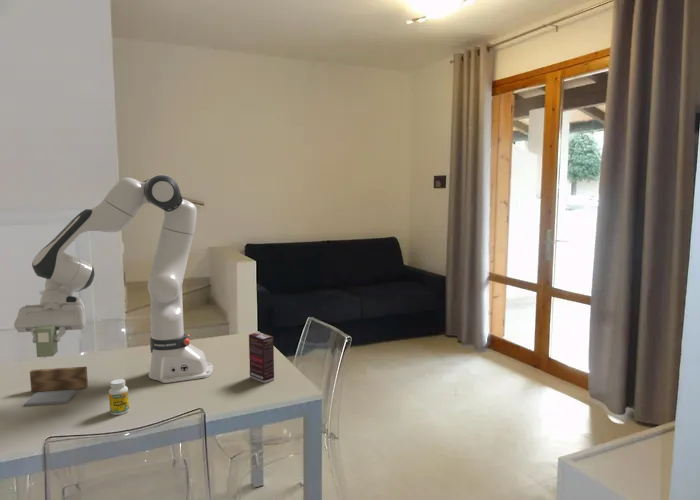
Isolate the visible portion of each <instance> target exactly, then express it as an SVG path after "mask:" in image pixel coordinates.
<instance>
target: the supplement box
mask: <svg viewBox="0 0 700 500" xmlns="http://www.w3.org/2000/svg"><path fill="white" fill-rule="evenodd" d="M248 351H249V353H248V355H249V356H248V357H249V378H251V379H253V380H256V381H257V382H261V383H263V384H266V383H270V382H273V381H275V364H274V363H275V358H274V357H275V356H274V354H275V353H274V351H275V349H274V336H272V335H269V334H266V333H263V332H260V331H258V332H254V333H250V334H248Z"/></svg>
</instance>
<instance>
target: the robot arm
mask: <svg viewBox="0 0 700 500" xmlns="http://www.w3.org/2000/svg"><path fill="white" fill-rule="evenodd" d="M181 193H182V192H181V190H180V187H179V185H178V183H177V182H176V180H175V179H174V178H172V177H171V176H170V175H167V174H161V173H159V174H156V175H153V176H151V177H150V178H148V179H146V180H144V181H139V180H138V179H136V178H133V177H122V178H121V179H120V180H119V181H117V182H116V183H115V185H114V186H113V187H112V188H111V189H110V190H109V192H108V193H107V194H106V196H104V198H103V200H102V201H101V202H100V203H98V205H96V206H95V207H93V208H89V209H88V208H87V209H84V210H82V211H81V212H80V213H78V214H77V215H76V216H75V217H73V219H72V220H70V222H69V223H68V224H66V226H65V227H64V228H63V229H62V230H61V231H60V232H59V233H58V234H57V235H56V236H55V237H54V238H53V239H52V240H51V241H50V242H49V243H48V244H47V245H46V246H44V247H43V248H42V249H40V251H39V252H38V253H37V254H35V256H34V257H33V260H32V262H31V267H32V270H33V271H34V274H35V275H36V276H37V277H39V278H43V279H46V280H45V281H44V282H45V283H44V287H45V288H44V290H43V292H42V293H41V294H42V295H41V297H40V301H39V303H38V304H26V305H24V306H21V307H20V308H19V309H18V313H17V316H16V318H15V321H14V323H13V326H14V329H15V330H16V331H17V332H18V333H31V335H32V343H33V344H36V337H35V329H36V328H38V327H39V326H49V325H55V326H56V331H58V332H57V335H54V338H53V341H54V342H57V343H59V342H61V338H62V337H63V336H64V335H65V334H66V331H75V330H76V331H77V330H78V331H79V330H83V329H84V328H85V326H86V319H87V314H86V312H85V310H86V307H85V304H84V302H83V299H81V298H80V297H78V296H74V295H73V293H78V292H81V291H82V290H85V289H88V288H89V287H90V286H91V285H92V283H93V281H94V278H95V267H94V266H93V265H92V264H90V263H89V262H88V261H85V260H83V259H81V258H77V257H76V256H73V255H71V254H69V253H66V252H65V251H66V250H67V248H69V246H70V245H71V244H72V243H73V242H74V241H75V240H77V238H78V237H79V236H81V235H82V234H84V233H87V232H103V233H116V232H117V233H118V232H120V231H123V230H125V229H126V228H128V227H129V226H130V224H131V223H132V221H133V219H135V217H136V215H137V214H138V212H139V210H140V209H142V207H143V206H144V205H146V204H152V205H154V206H155V207H158V208H160V209H161V210H162V211H163V214H164V216H163V220H162V225H161V229H160V233H159V238H158V242H157V246H156V251H155V254H154V256H153V257H154V258H153V262H152V266H151V270H150V274H149V278H148V282H147V291H148V293H149V295H150V296H149V297H150V315H149V317H150V331H151V333H150V334H151V335H150V339H149V347H150V353H151V359H150V368H149V372H148V378H149V379H151V380H154V381H157V382H158V381H159V382H161V383H163V384H168V383H176V382H182V381H191V380H197V379H204V378H205V379H206V378H208V377H210V376H211V375H212V374H213V373H214V365H213V364H212V363H211V362H208V361H207V357H206V355H205V352H204V351H203V350H201V349H199V348H197V347H196V346H194V345H193V344H191V338H190V334H186V333H185V331H184V329H185V328H184V308H183V307H184V306H183V305H184V304H183V301H184V300H183V282H184V279H185V273H186V269H187V265H188V260H189V257H190V252H191V248H192V243H193V239H194V234H195V230H196V226H197V217H198V215H197V214H198V213H197V212H198V211H197V207H196V204H194V203H193V202H191V201H190V200H187V199H184V198H183V196H182V194H181Z"/></svg>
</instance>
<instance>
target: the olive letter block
mask: <svg viewBox="0 0 700 500" xmlns="http://www.w3.org/2000/svg"><path fill="white" fill-rule="evenodd" d="M57 334H58V332H57V331H56V326H55V325H49V326H39V327H38V328H36V329H35V337H36V343H35V347H36V358H45V357H46V358H47V357H50V358H51V357H54V356H55V355H57V353H59V349H58V342H54V341H53V338H54V335H57Z"/></svg>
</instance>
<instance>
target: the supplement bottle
mask: <svg viewBox="0 0 700 500" xmlns="http://www.w3.org/2000/svg"><path fill="white" fill-rule="evenodd" d="M108 400H109V402H108V403H109V412H110V414H112V415H113V416H121V415H124V414H126V413H128V412H129V411H130V398H129V388H128V386H126V380H125V379H124V378H119V379H117V378H116V379H113V380H112V381H110V389H109V390H108Z"/></svg>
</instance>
